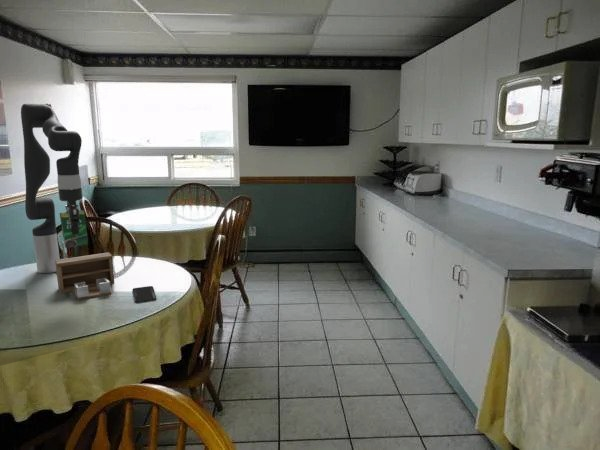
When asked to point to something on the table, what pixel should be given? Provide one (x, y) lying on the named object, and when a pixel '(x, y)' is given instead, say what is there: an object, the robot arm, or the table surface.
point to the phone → (144, 294)
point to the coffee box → (68, 237)
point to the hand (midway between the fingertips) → (74, 233)
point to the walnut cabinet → (84, 273)
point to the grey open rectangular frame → (101, 285)
